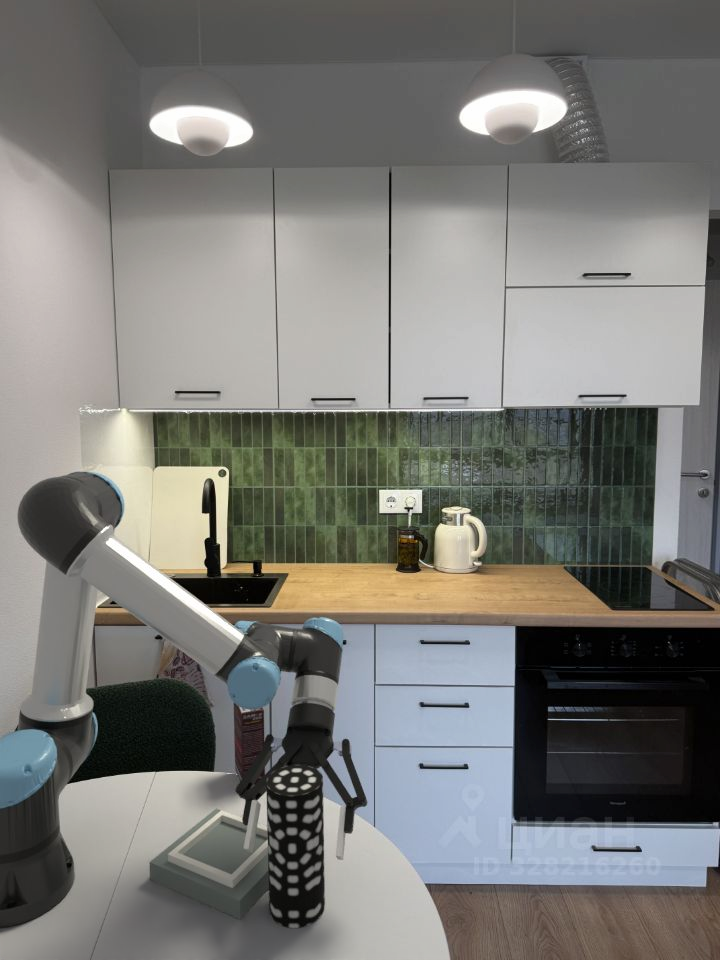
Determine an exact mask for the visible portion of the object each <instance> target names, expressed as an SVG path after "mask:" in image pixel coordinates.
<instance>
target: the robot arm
mask: <svg viewBox="0 0 720 960" xmlns="http://www.w3.org/2000/svg"><path fill="white" fill-rule="evenodd" d="M22 496H23V497H22V498H21V500H20V502H19V504H18V507H17V508H18V509H17V524H18V528H19V531H20V533H21V535H22V537H23V539H24V540H25V541H26V543H27V545H29V547H31V549H33V550H34V552H36V553H37V554H38V555H39V556H41V558H43V560H45V561H46V562H45V563H46V564H45V571H44V578H43V580H44V581H43V588H42V597H41V598H42V599H41V607H40V616H39V625H38V632H37V633H38V634H37V644H36V651H35V652H36V653H35V661H34V662H35V663H34V668H33V669H34V670H33V677H32V678H33V680H32V688H31V694H30V695H29V696H27V697H25V698H24V699H23V700H22V702H21V703H20V707H19V714H18V715H19V716H18V725H17V730H16V731H12V732H8V733H6V734H3V735H2V738H0V928H6V927H7V928H8V927H11V926H12V927H13V926H16V925H21V924H22V923H25V922H28V921H31V920H34V919H36V918H37V917H39V916H41V915H43V914H45V913H47V912H49V911H50V910H51V909H53V908H55V906H57V905H58V904H59V903H60V902H61V901H62V900H63V899H64V898H66V896H67V895H68V893H69V892H70V890H71V889H72V887H73V885H74V882H75V877H76V873H75V861H74V858H73V856H72V854H71V852H70V851H71V850H70V849H69V847H68V845H67V843H66V840H65V839H64V837H63V835H62V832H61V827H60V826H61V825H60V806H59V805H60V804H59V799H60V795H61V793H62V792H63V791H64V789H65V787H66V786H67V784H68V783H69V782H70V781H71V779H72V778H73V776H74V775H75V773H76V772H77V771H78V769H79V768H80V766H82V764H83V763H84V762H85V761H86V760H87V758H88V757H89V755H90V754H91V751H92V750H93V748H94V745H95V743H96V740H97V737H98V732H99V731H98V729H99V728H98V720H97V716H96V714H95V712H93V711H94V710H93V709H94V699H93V698H92V697H91V696H90V695H88V693H87V684H88V676H89V675H88V674H89V666H90V659H91V650H92V643H93V633H94V624H95V617H96V608H97V600H98V593H99V592H101V593H102V594H104V595H105V596H106V597H108V598H109V599H110V600H111V601H113V602H114V603H116V604H117V605H119V606H120V607H121V608H122V609H124V610H125V611H126V612H128V613H129V614H131V615H132V616H133V617H135V618H136V619H137V620H139V621H140V622H142V623H143V624H144V625H145V626H147V627H149V628H150V629H151V630H153V631H154V632H155V633H157V635H159V636H161V637H162V638H163V639H165V640H166V641H168V643H170V644H171V645H173V646H174V647H176V648H177V649H178V650H180V651H181V652H183V653H184V654H185V655H187V656H188V657H189V658H190V659H192V660H193V661H195V662H196V663H198V664H199V665H201V666H202V667H203V668H204V669H205V670H207V671H208V672H210V673H211V674H212V675H214V676H216V677H217V678H218V679H219V680H220V681H222V682H223V683H224V684H226V686H227V687H226V688H227V691H228V692H227V693H228V695H229V698H230V699H231V700H232V702H233V704H234V703H235V704H236V705H238V706H239V707H241V708H244V709H248V710H255V709H260V708H264V707H266V706H267V705H268V704H270V703H271V702H272V701H273V700H274V698H275V696H276V694H277V691H278V689H279V686H280V685H281V681H282V674H281V673H282V672H285V673H293V674H294V673H295V676H294V683H293V688H292V695H291V700H290V704H291V707H290V708H289V714H288V720H287V726H286V727H287V728H286V732H285V735H284V737H283V738H280V737H276V736H273V734H271V733H268V734H267V735H266V736H265V737H264V745H263V748H262V750H261V751H260V753H259V754H258V756H257V757H256V759H255V760H254V762H253V763H252V765H251V766H250V768H249V769H248V771H247V772H246V774H245V775H244V777H243V778H242V780H241V781H239V783H238V784H237V786H236V788H235V789H234V790H235V791H234V792H235V793H236V795H238V796H239V798H241V799H244V800H245V801H244V802H245V803H244V808H243V813H242V821H243V824H244V825H247V832H246V837H245V843H244V849H245V850H246V851H247V852H253V848H254V842H255V836H256V830H257V824H258V823H259V819H260V812H261V803H260V802H259V799H261V797H263V796H264V794H266V793H267V792H266V781H267V778H268V776H269V775H270V774H271V773H272V772H273V771H275V770H277V769H279V768H282V767H285V766H290V765H306V766H310V767H313V768H315V769H317V770H318V769H320V768H321V769H322V770H323V772H324V773H325V775H326V776H327V778H328V779H329V781H330V783H331V784H332V786H333V787H334V789H335V791H336V792H337V794H338V795H339V796H340V798H341V800H342V801H343V803H344V805H345V806H342V805H341V806H340V808H339V809H340V810H339V817H338V818H339V819H338V828H337V837H336V838H337V840H336V848H335V857H336V858H337V860H339V861H343V860H344V854H345V845H346V842H345V841H346V834H349V835H350V834H353V831H354V823H355V813H356V810H357V809H359V808H361V807H363V808H364V807H367V806H368V802H369V801H368V799H367V796H366V793H365V792H364V789H363V786H362V783H361V781H360V777H359V775H358V772H357V770H356V767H355V765H354V762H353V759H352V745H351V742H350V740H349V739H348V738H343V740H342V741H334V740H333V736H334V729H335V728H334V726H335V718H336V713H335V712H334V711H335V710H336V708H337V701H338V700H337V699H338V691H339V680H340V672H341V667H342V666H341V665H342V664H341V663H342V658H343V651H344V648H343V644H344V643H343V642H344V630H343V628H342V626H341V624H340V623H339V622H338V621H336V620H335V619H332V618H328V617H323V616H322V617H321V616H320V617H311V618H309V619H307V620H306V621H305V622H303V625H302V627H301V628H300V627H299V628H295V627H294V628H293V627H287V626H281V625H276V624H270V623H264V622H260V621H256V620H254V621H248V620H239V621H236V622H235V624H234V625H233V624H232V623H231V622H230V621H228V620H227V619H225V618H224V617H223V616H222V615H220V614H219V613H218V612H216V611H215V610H213V609H212V608H211V607H210V606H208V605H207V604H205V603H204V602H203V601H202V600H200V599H199V598H197V597H196V596H195V595H194V594H193V593H191V592H190V591H188V590H187V589H186V588H184V587H183V586H182V585H180V584H179V583H177V582H176V581H175V580H173V579H172V578H171V577H169V576H168V575H167V574H166V573H164V572H163V571H162V570H161V569H159V568H157V566H155V565H154V564H152V563H151V562H150V561H148V560H147V559H146V558H144V557H143V556H142V555H140V554H139V553H138V552H137V551H135V550H134V549H132V548H131V547H130V546H128V545H127V544H126V543H124V542H123V541H122V540H120V539H119V538H118V537H116V536H115V529H116V528H117V527H118V526H119V525H120V523H121V521H122V519H123V516H124V513H125V498H124V495H123V493H122V491H121V489H120V488H119V486H118V485H117V484H116V483H115V482H114V481H113V480H112V479H111V478H109V477H107V476H106V475H103V474H102V473H99V472H94V471H74V472H70V473H68V474H64V475H61V476H60V475H59V476H55V477H48V478H46V479H43V480H40V481H39V482H37V483H35V484H33V485H32V486H31V487H30V488H29V489H28V490H27V491H26V492H25V494H24V495H22ZM98 591H99V592H98ZM281 747H282V749H283V751H284V753H283V754H282V755H281V756H280V757H279V758H278V760H277V762H276V763H275V764H274V765H272V767H271V768H270V769H269V770H268V771H267V772H265V775H264V776H263V777H262V778H261V779H260V780H259V781H258V782H257V783H256V784H255V785H254V786H253V784H254V783H255V781H256V780H257V778H258V777H259V775H260V774H261V772H262V771H263V769H264V768H265V769H266V766H267V765H268V763H269V762H270V760H271V758H272V757H273V754H274V753H276V752H278V750H279V749H280V748H281ZM334 751H337V754H338V756H339V757H342V759H343V761H344V764H345V768H346V770H347V772H348V775H349V779H350V781H351V783H352V787H353V789H354V792H355V795H356V796H355V797H354V796H353V797H352V796H351V794H350V793H349V791H348V789H347V788H346V787H345V785H344V784H343V782H342V780H341V779H340V777H339V775H338V774H337V773H336V771H335V770H334V768H333V767H332V765H331V763H330V762H329V760H328V758H329V757H330V756H331V755H332V754H333V752H334ZM252 786H253V787H252Z"/></svg>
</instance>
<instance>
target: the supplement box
mask: <svg viewBox="0 0 720 960" xmlns="http://www.w3.org/2000/svg"><path fill="white" fill-rule="evenodd" d="M233 730H234V732H233V735H234V737H233V738H234V742H233V743H234V771H235V774H236V776H237V775H238V776H237V778H238V781H239V782H240V781H241V780H242V778H243V777H244V775H245V774H246V772H247V771H248V769H249V768H250V766H251V765H252V763H253V762H254V760H255V759H256V757H257V756H258V754H259V753H260V751H261V750H262V748H263V745H264V742H265V710H264V707H262V708H260V709H255V710H248V709H244V708H241V707H239V706H238V705H236V704H235V703H234V702H233ZM265 774H266V767H265V768H264V769H263V771H262V772H261V774H260V775H259V777H258V778H257V780H256V781H255V783H254V784H253V786H254V785H255V784H256V783H257V782H258V781H259V780H260V779H261V778H262V777H263V776H264V775H265ZM253 786H252V787H253Z"/></svg>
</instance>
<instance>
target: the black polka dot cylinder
mask: <svg viewBox="0 0 720 960" xmlns="http://www.w3.org/2000/svg"><path fill="white" fill-rule="evenodd" d="M265 793H266V826H267V833H268V874H269V889H268V904H269V905H268V908H269V909H268V910H269V914H270V916H271V917H270V918H271V919H272V920H273V921H274V922H275V923H276V924H278V925H279V926H282V927H285V928H292V929H296V928H297V929H298V928H303V927H307V926H309V925H312V924H313V923H316V921H317V920H319V919H320V918H321V917H322V915H323V914H324V911H325V909H326V901H325V900H326V895H325V894H326V893H325V892H326V891H325V890H326V889H325V885H326V884H325V882H326V881H325V877H326V876H325V827H324V825H325V824H324V823H325V822H324V821H325V820H324V776H323V774H322V772H321V771H320V770H318V769H315V768H313V767H310V766H306V765H290V766H285V767H282V768H279V769H277V770H275V771H273V772H272V773H271V774H270V775H269V776H268V778H267V781H266V792H265Z"/></svg>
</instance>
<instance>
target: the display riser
mask: <svg viewBox="0 0 720 960" xmlns="http://www.w3.org/2000/svg"><path fill="white" fill-rule="evenodd" d="M242 818H243V816H239V815H237V814H234V813H230V812H228V811H225V810H222V809H219V808H215V809H214V810H212V811H211V812H210V813H208V814H207V815H206V816H205V817H204V818H202V819H200V821H199V822H198V823H196V824H195V825H193V826H192V827H191V828H190V829H189V830H187V831H186V832H185V833H184V834H183V835H181V836H180V837H179V838H178V839H176V840H175V841H174V842H172V843H171V844H170V845H169V846H168V847H166V848H165V849H164V850H163V851H162V852H160V853H158V855H156V856H155V857H154V858H153V859H152V860H150V861H149V880H150V881H152V882H155V883H156V884H159V885H161V886H163V887H166V888H167V889H171V890H172V891H174V892H177V893H179V894H181V895H183V896H185V897H187V898H190V899H193V900H195V901H197V902H200V903H201V904H204V905H206V906H209V907H211V908H213V909H215V910H217V911H219V912H222V913H225V914H227V915H228V916H231V917H233V918H236V919H238V920H241V919H243V918H244V917H245V915H246V914H247V913H248V912H249V911H250V910H251V909H252V908H253V906H255V905H256V903H257V902H258V901H259V900H260V899H261V898H262V897H263V896H264V894H266V892H267V891H269V874H268V833H267V825H264V824H262V823H259V822H258V824H257V830H256V836H255V842H254V848H253V852H247V851H246V850H245V849H244V843H245V837H246V832H247V825H244V824H243V821H242Z"/></svg>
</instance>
